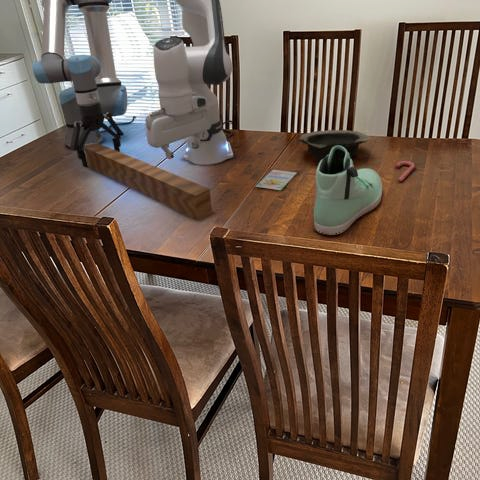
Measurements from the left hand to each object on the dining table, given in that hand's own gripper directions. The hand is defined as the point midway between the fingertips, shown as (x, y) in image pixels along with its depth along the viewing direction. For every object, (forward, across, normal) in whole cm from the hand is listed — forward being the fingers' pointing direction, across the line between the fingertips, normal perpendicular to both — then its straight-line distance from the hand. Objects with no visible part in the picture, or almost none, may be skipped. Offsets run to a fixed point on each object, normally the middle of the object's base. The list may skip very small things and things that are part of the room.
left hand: (102, 161), depth 176 cm
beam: (+4, 0, -25) cm, 26 cm away
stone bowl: (+3, +60, -59) cm, 84 cm away
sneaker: (+4, +30, -87) cm, 92 cm away
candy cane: (+4, +61, -86) cm, 106 cm away
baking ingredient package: (+4, +32, -57) cm, 66 cm away
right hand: (-14, 0, -51) cm, 53 cm away
